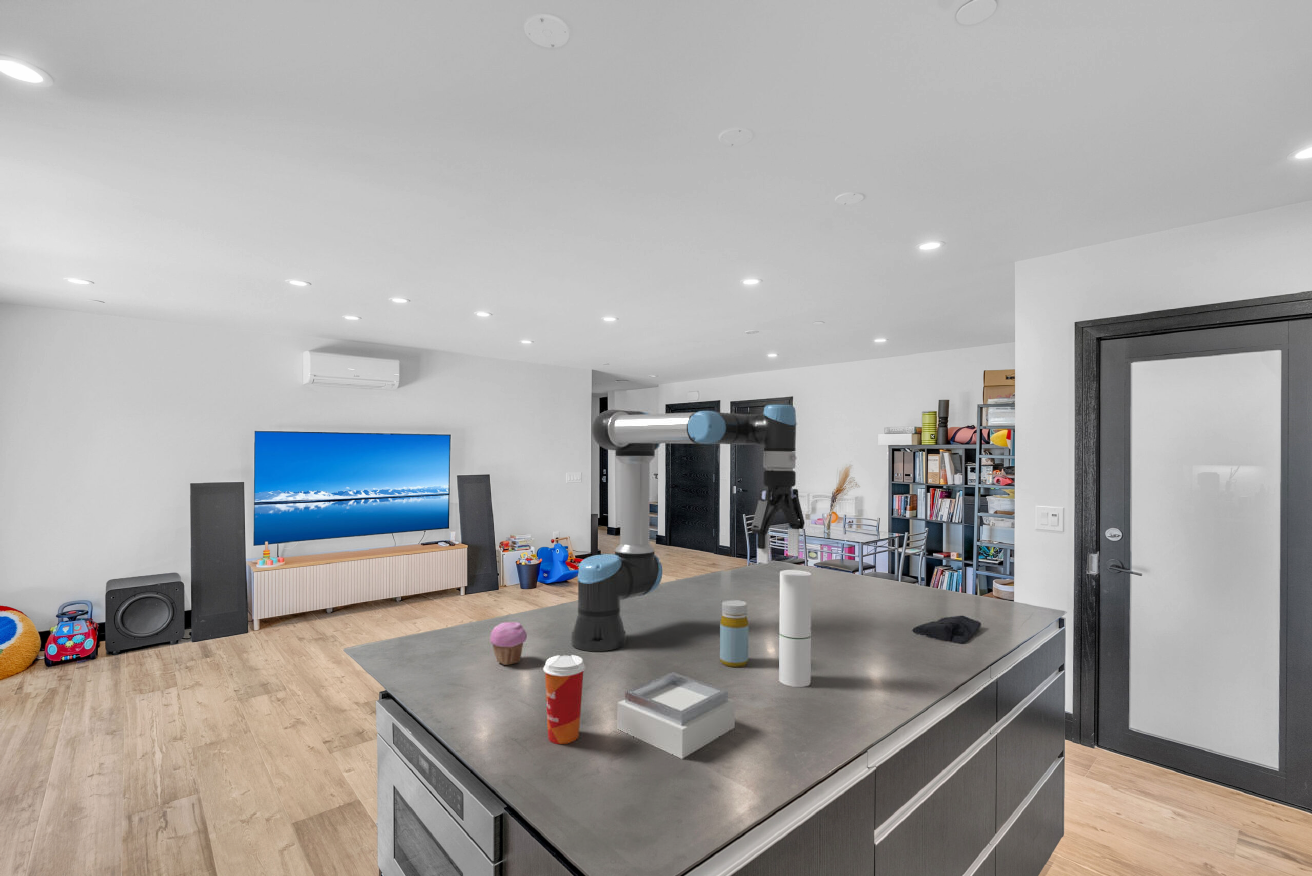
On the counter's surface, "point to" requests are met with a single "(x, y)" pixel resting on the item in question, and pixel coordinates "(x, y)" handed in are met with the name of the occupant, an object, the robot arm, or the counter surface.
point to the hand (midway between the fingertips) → (778, 559)
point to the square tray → (676, 713)
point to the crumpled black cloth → (949, 629)
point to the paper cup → (563, 697)
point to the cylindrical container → (795, 628)
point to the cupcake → (508, 642)
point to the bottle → (734, 633)
